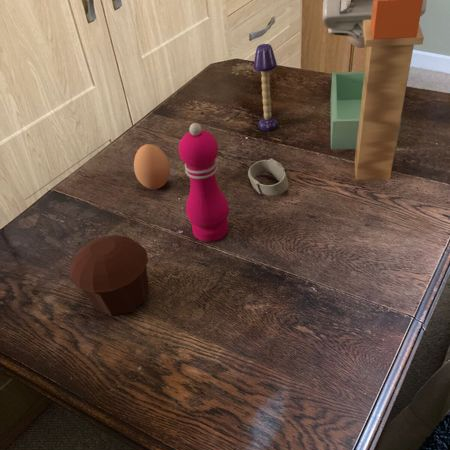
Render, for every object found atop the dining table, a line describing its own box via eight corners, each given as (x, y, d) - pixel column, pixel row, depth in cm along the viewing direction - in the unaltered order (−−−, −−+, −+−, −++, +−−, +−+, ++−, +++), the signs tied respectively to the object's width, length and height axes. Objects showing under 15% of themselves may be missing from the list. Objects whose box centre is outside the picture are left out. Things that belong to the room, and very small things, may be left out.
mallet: (405, -1, 80) (410, -37, 77) (416, 37, 70) (423, -2, 66) (367, 1, 81) (370, -34, 78) (372, 39, 71) (377, 0, 67)
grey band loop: (296, 191, 91) (296, 168, 88) (268, 204, 90) (267, 181, 86) (267, 170, 97) (267, 147, 93) (241, 182, 95) (239, 159, 92)
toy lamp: (252, 127, 109) (247, 48, 97) (265, 118, 111) (262, 39, 99) (269, 133, 107) (267, 52, 94) (282, 123, 109) (281, 44, 96)
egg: (158, 172, 100) (149, 132, 94) (180, 184, 97) (172, 143, 90) (132, 188, 97) (121, 147, 91) (153, 201, 94) (143, 159, 87)
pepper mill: (208, 249, 83) (190, 142, 68) (182, 231, 87) (160, 125, 72) (239, 229, 86) (229, 121, 71) (213, 212, 90) (198, 106, 75)
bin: (387, 99, 112) (391, 70, 107) (395, 150, 97) (401, 119, 93) (330, 100, 114) (332, 72, 109) (330, 151, 99) (332, 121, 95)
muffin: (142, 260, 83) (128, 212, 75) (167, 301, 76) (154, 253, 68) (74, 287, 80) (53, 240, 72) (94, 333, 73) (72, 286, 65)
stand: (391, 165, 94) (417, 16, 75) (394, 190, 89) (423, 37, 70) (348, 165, 95) (363, 19, 76) (349, 190, 90) (365, 39, 71)
